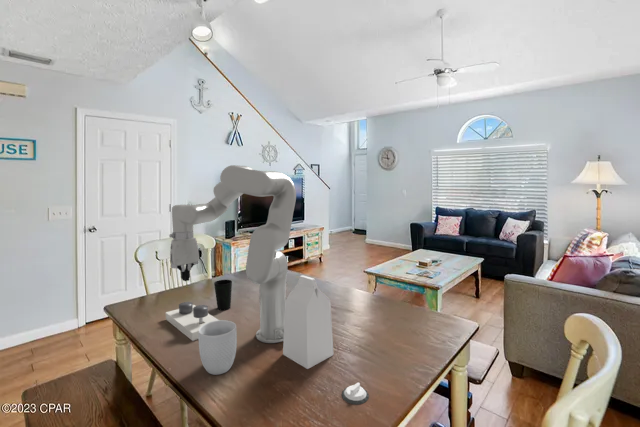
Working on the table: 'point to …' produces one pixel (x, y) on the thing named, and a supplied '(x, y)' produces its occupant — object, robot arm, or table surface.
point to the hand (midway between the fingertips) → (185, 280)
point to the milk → (307, 324)
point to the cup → (223, 294)
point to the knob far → (185, 307)
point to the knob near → (200, 312)
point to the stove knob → (355, 394)
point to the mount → (188, 322)
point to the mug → (217, 345)
